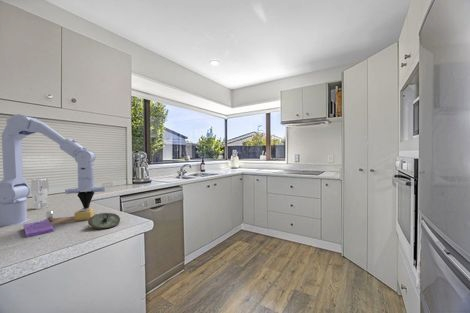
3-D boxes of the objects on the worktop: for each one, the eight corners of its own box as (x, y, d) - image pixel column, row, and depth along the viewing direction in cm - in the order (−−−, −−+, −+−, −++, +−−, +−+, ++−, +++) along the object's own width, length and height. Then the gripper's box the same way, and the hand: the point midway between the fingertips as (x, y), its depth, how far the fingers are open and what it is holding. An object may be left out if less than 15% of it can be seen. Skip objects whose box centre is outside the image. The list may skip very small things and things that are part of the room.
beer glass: (28, 208, 111) (28, 180, 111) (45, 205, 117) (44, 178, 117) (34, 210, 107) (34, 180, 107) (51, 207, 114) (50, 179, 114)
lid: (114, 220, 88) (114, 208, 88) (124, 224, 82) (124, 211, 82) (84, 227, 80) (84, 213, 80) (93, 232, 74) (93, 218, 74)
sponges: (48, 223, 82) (48, 219, 82) (54, 232, 74) (53, 227, 74) (23, 229, 77) (23, 224, 77) (26, 239, 69) (25, 233, 69)
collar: (74, 220, 86) (74, 213, 86) (79, 217, 91) (79, 210, 91) (90, 219, 88) (90, 211, 88) (94, 215, 93) (94, 208, 93)
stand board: (32, 228, 80) (31, 215, 80) (45, 220, 89) (45, 209, 89) (91, 221, 86) (91, 210, 86) (97, 215, 96) (97, 205, 96)
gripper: (61, 179, 86) (62, 213, 86) (102, 178, 91) (103, 209, 91) (68, 178, 92) (69, 209, 92) (106, 176, 97) (107, 205, 97)
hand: (86, 209), depth 92 cm, fingers closed
